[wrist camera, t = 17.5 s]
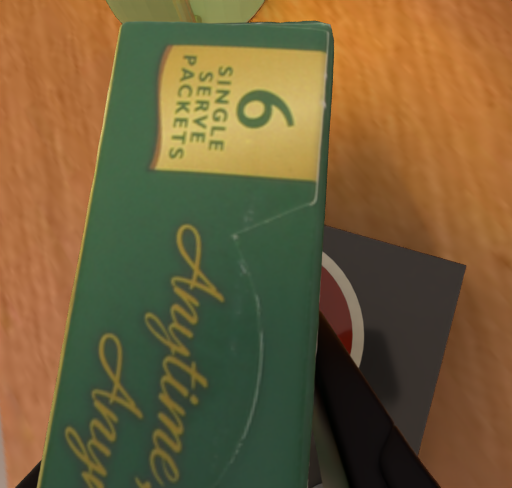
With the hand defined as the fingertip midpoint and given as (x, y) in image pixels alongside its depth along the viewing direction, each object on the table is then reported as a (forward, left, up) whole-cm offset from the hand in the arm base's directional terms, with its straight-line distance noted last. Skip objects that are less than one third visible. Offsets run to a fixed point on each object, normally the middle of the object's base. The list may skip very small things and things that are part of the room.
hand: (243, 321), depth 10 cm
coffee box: (-1, 0, -7) cm, 7 cm away
